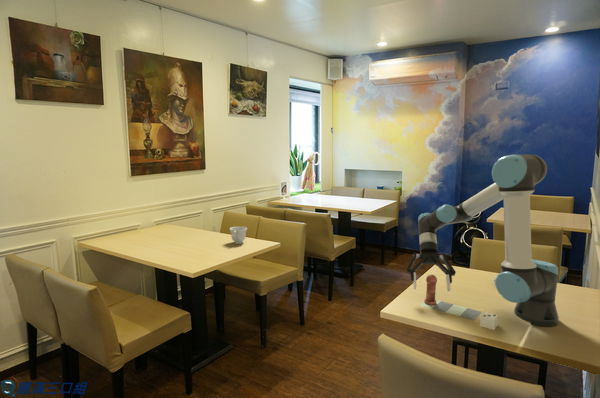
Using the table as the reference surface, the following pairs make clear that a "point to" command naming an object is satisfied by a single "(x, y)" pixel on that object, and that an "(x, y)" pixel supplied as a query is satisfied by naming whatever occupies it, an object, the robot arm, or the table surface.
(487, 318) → the die
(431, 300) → the brown tall rounded piece
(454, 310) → the game board
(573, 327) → the table surface
